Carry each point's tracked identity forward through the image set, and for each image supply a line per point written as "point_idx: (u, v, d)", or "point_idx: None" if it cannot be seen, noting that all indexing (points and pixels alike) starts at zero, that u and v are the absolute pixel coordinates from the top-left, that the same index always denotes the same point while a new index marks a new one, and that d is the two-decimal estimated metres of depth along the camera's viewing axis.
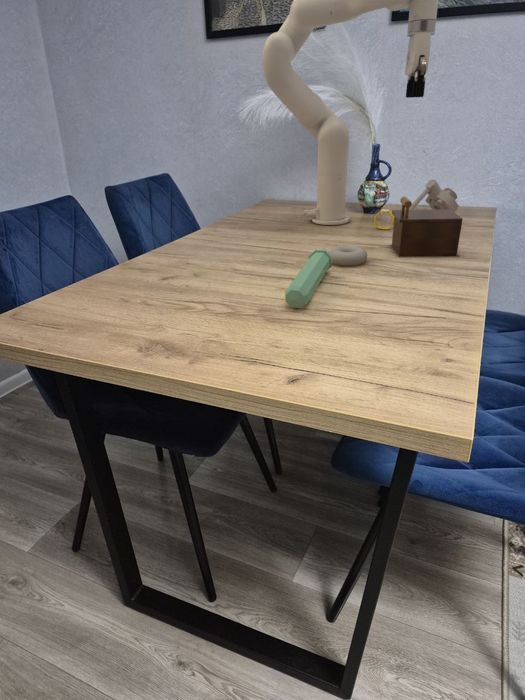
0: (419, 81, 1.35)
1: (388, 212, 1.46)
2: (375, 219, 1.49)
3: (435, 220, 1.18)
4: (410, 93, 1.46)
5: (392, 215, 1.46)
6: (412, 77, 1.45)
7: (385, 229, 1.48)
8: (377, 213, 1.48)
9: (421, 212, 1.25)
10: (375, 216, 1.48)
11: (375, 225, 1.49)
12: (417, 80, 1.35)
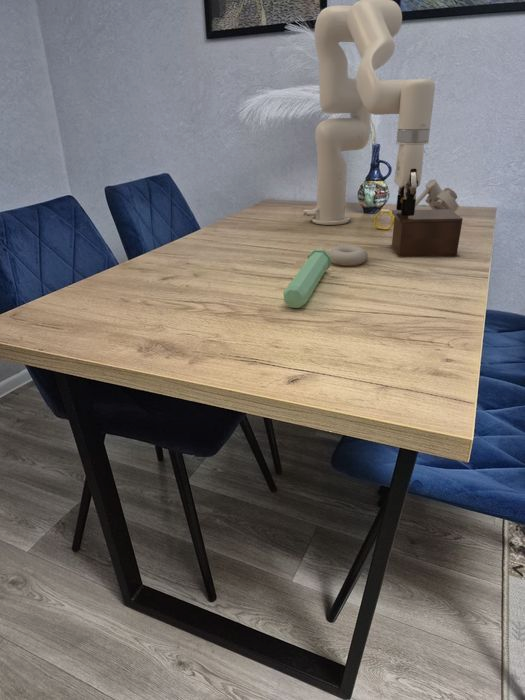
0: (409, 200, 1.17)
1: (388, 212, 1.46)
2: (375, 219, 1.49)
3: (435, 220, 1.18)
4: (401, 206, 1.25)
5: (392, 215, 1.46)
6: (403, 188, 1.24)
7: (385, 229, 1.48)
8: (377, 213, 1.48)
9: (421, 212, 1.25)
10: (375, 216, 1.48)
11: (375, 225, 1.49)
12: (406, 199, 1.17)
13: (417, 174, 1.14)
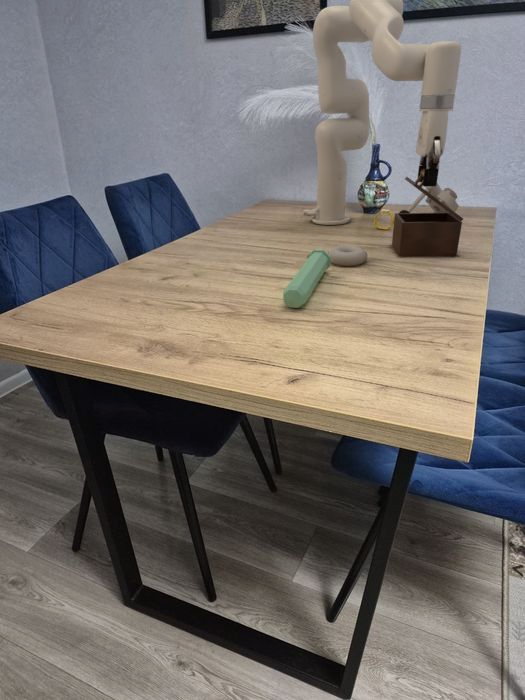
0: (431, 169, 1.14)
1: (388, 212, 1.46)
2: (375, 219, 1.49)
3: (442, 205, 1.16)
4: None
5: (392, 215, 1.46)
6: (425, 159, 1.20)
7: (385, 229, 1.48)
8: (377, 213, 1.48)
9: None
10: (375, 216, 1.48)
11: (375, 225, 1.49)
12: (429, 168, 1.13)
13: (441, 142, 1.10)
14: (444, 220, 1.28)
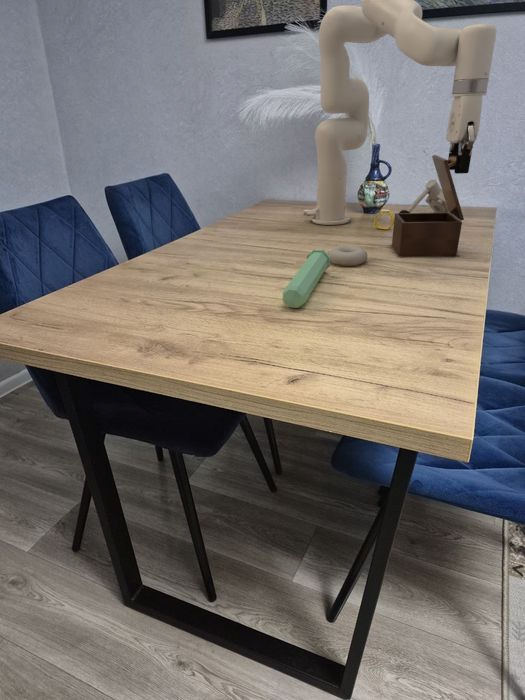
0: (464, 156, 1.12)
1: (388, 212, 1.46)
2: (375, 219, 1.49)
3: (455, 195, 1.15)
4: None
5: (392, 215, 1.46)
6: (455, 146, 1.18)
7: (385, 229, 1.48)
8: (377, 213, 1.48)
9: None
10: (375, 216, 1.48)
11: (375, 225, 1.49)
12: (461, 155, 1.11)
13: (474, 127, 1.08)
14: (444, 220, 1.28)
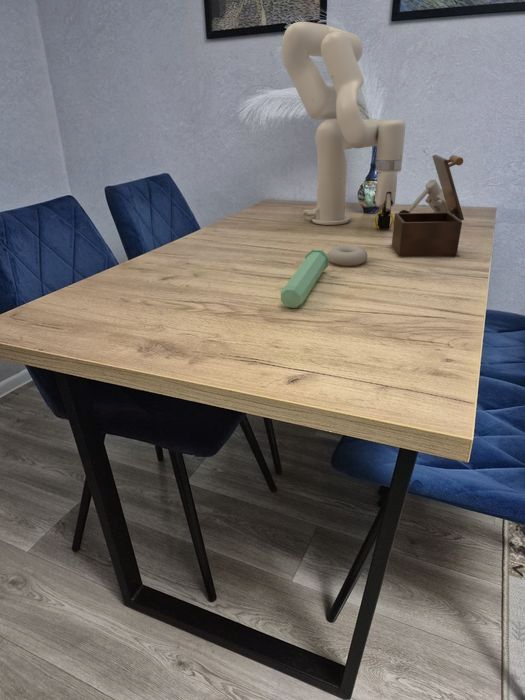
0: (385, 216, 1.45)
1: None
2: (375, 219, 1.49)
3: (455, 195, 1.15)
4: None
5: (392, 215, 1.47)
6: (383, 208, 1.49)
7: (385, 229, 1.48)
8: (377, 213, 1.47)
9: None
10: (375, 216, 1.48)
11: (375, 225, 1.49)
12: (383, 216, 1.45)
13: (392, 196, 1.40)
14: (444, 220, 1.28)
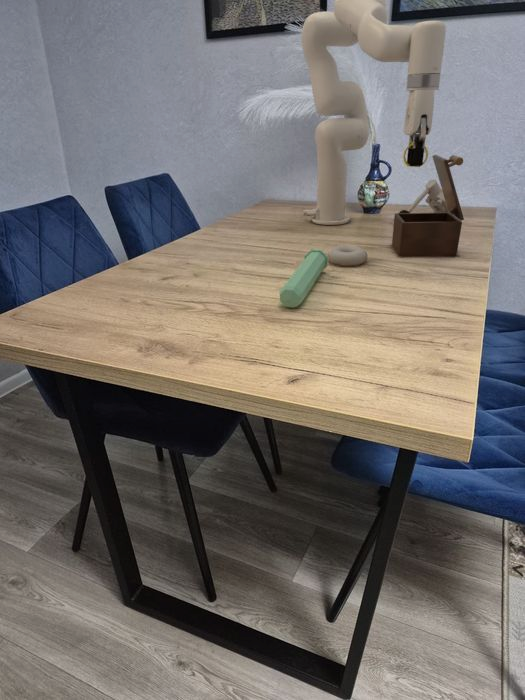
0: (417, 149, 1.18)
1: None
2: (404, 155, 1.21)
3: (455, 195, 1.15)
4: None
5: (426, 148, 1.19)
6: None
7: (417, 166, 1.21)
8: None
9: None
10: (405, 150, 1.20)
11: (405, 162, 1.22)
12: (415, 148, 1.17)
13: (428, 120, 1.12)
14: (444, 220, 1.28)
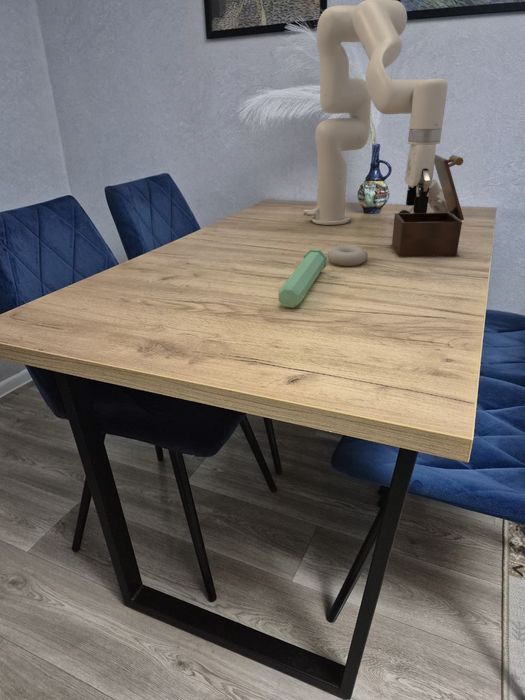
0: (421, 197, 1.15)
1: None
2: None
3: (455, 195, 1.15)
4: (411, 201, 1.26)
5: None
6: None
7: None
8: None
9: None
10: None
11: None
12: (419, 196, 1.15)
13: (429, 174, 1.14)
14: (444, 220, 1.28)
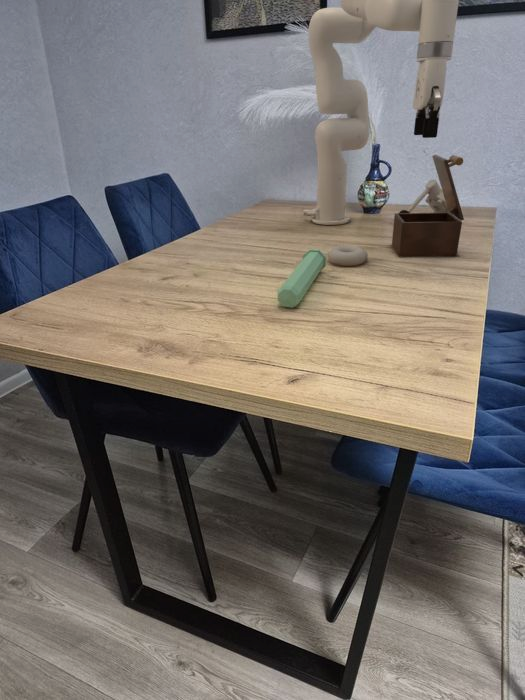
0: (431, 118, 1.07)
1: None
2: None
3: (455, 195, 1.15)
4: (419, 130, 1.18)
5: None
6: (422, 110, 1.17)
7: None
8: None
9: None
10: None
11: None
12: (429, 117, 1.07)
13: (439, 92, 1.06)
14: (444, 220, 1.28)
